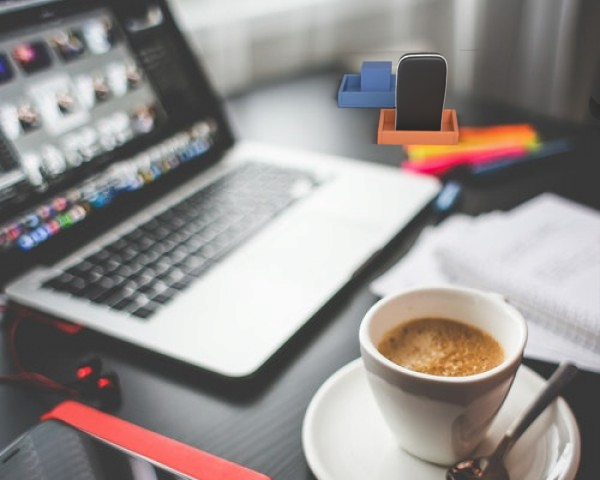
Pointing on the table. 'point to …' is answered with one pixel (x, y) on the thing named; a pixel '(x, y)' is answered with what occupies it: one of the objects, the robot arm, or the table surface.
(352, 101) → the blue tray
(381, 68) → the blue block
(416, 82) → the battery charger
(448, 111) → the orange tray
